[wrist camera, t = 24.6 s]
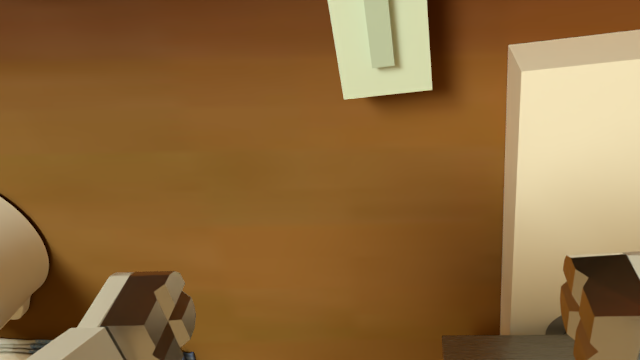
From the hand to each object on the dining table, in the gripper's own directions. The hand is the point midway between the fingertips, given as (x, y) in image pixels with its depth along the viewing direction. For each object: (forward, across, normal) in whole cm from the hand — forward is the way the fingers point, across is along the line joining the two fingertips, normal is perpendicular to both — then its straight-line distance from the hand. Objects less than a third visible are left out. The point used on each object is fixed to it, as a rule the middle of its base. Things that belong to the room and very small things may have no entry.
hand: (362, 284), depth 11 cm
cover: (+23, 0, 0) cm, 23 cm away
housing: (+23, -12, +18) cm, 32 cm away
